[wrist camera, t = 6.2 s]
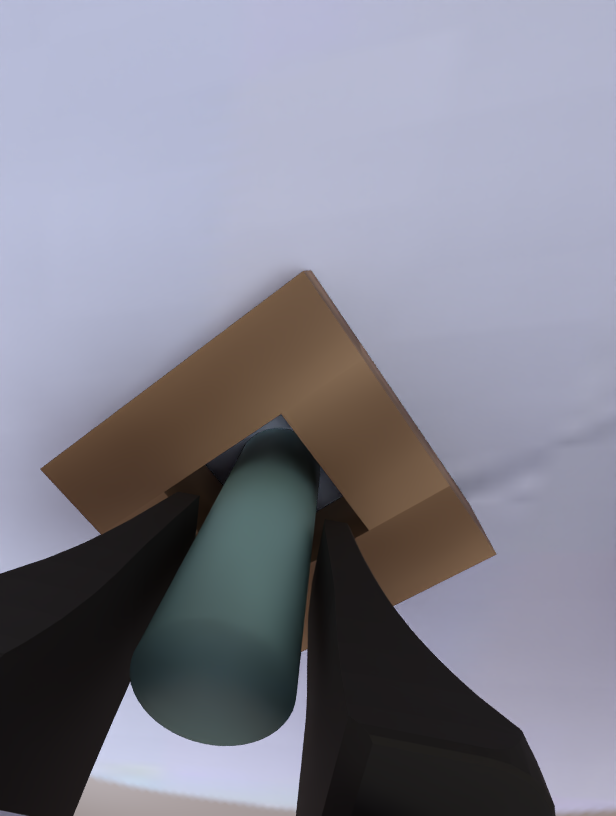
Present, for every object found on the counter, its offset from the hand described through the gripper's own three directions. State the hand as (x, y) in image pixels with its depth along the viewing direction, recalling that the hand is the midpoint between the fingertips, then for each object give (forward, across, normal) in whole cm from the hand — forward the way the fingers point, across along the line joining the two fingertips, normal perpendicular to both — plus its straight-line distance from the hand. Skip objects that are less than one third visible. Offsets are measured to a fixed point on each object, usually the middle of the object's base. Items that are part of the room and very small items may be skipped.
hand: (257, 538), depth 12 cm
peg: (+5, 0, 0) cm, 5 cm away
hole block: (+4, 0, 0) cm, 4 cm away
